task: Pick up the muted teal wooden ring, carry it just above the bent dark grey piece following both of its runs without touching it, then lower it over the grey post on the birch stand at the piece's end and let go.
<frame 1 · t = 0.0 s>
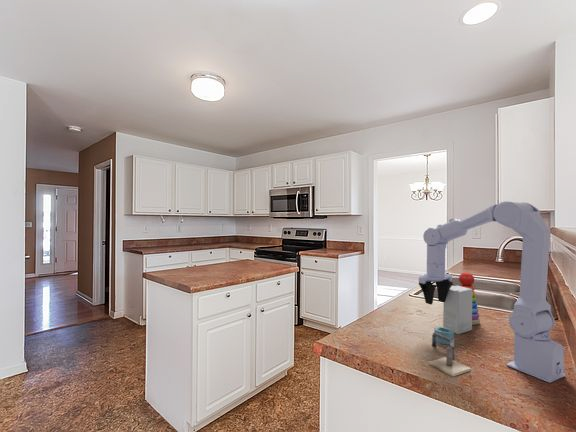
hand: (435, 302, 102), 10 cm above the worktop, tool pointing down, fingers open, 6 cm apart
post: (449, 367, 78), on the worktop
skincare box: (457, 330, 104), on the worktop, touching gripper
stacking toy: (467, 322, 113), on the worktop
dark grey piece: (452, 353, 86), on the worktop
ring: (443, 340, 95), on the worktop
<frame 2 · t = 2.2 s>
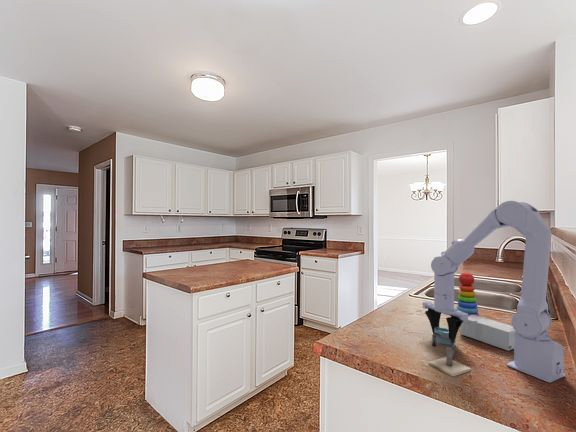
hand: (443, 336, 95), 1 cm above the worktop, tool pointing down, fingers closed on ring, 5 cm apart
skincare box: (465, 324, 102), point 3 cm above the worktop
ring: (443, 340, 95), on the worktop, touching gripper
everything else where it was.
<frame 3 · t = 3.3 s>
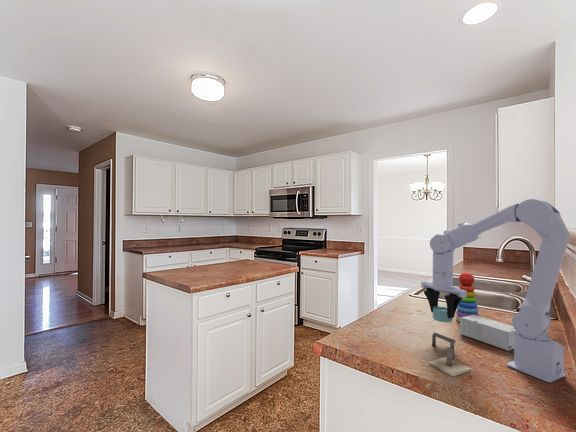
hand: (442, 315, 94), 8 cm above the worktop, tool pointing down, fingers closed on ring, 5 cm apart
ring: (442, 319, 94), point 7 cm above the worktop, touching gripper
everything else where it was.
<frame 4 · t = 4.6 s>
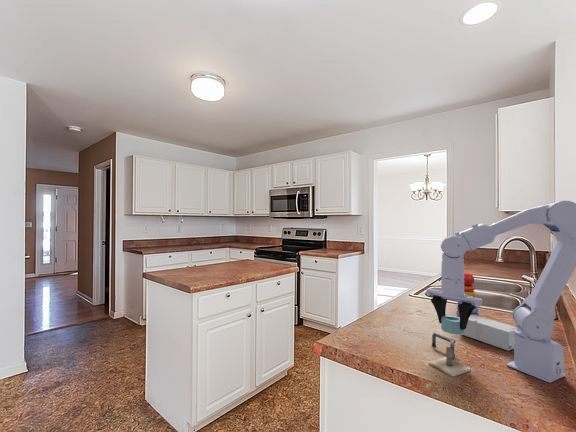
hand: (452, 325, 85), 8 cm above the worktop, tool pointing down, fingers closed on ring, 5 cm apart
ring: (452, 330, 85), point 7 cm above the worktop, touching gripper
everything else where it was.
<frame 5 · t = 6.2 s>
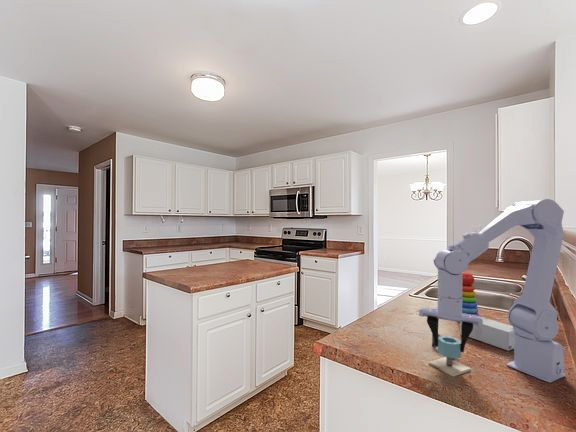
hand: (449, 348, 78), 5 cm above the worktop, tool pointing down, fingers closed on ring, 5 cm apart
ring: (449, 353, 78), point 4 cm above the worktop, touching gripper
everything else where it was.
when the fingers open (4 cm above the worktop, at t = 7.3 s): ring drops 2 cm, resting on post.
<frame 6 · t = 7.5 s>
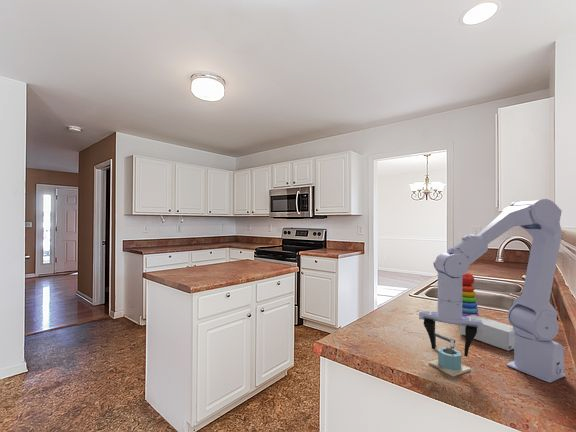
hand: (449, 351, 78), 4 cm above the worktop, tool pointing down, fingers open, 7 cm apart
ring: (449, 365, 78), point 1 cm above the worktop, touching post
everything else where it was.
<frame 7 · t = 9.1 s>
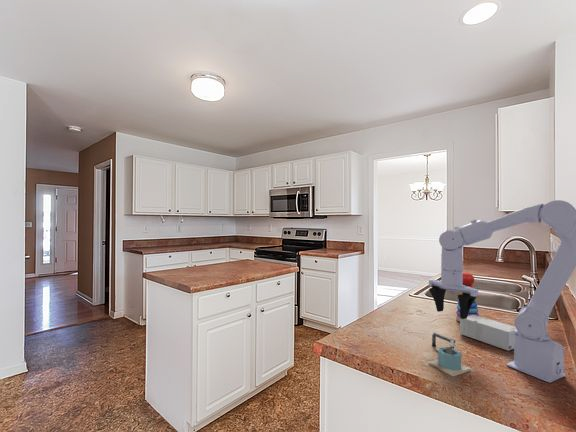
hand: (451, 314, 90), 10 cm above the worktop, tool pointing down, fingers open, 7 cm apart
nothing on the worktop moved.
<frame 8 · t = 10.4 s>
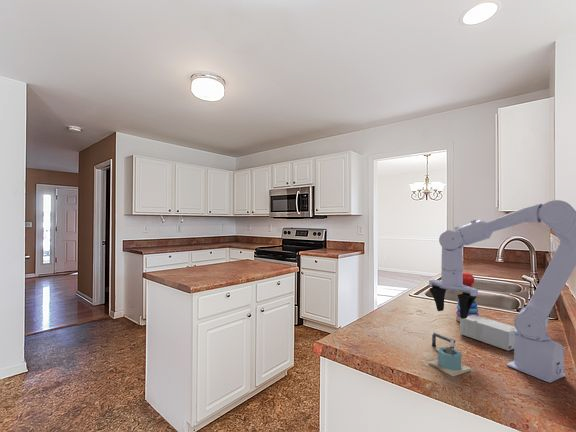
hand: (451, 314, 91), 10 cm above the worktop, tool pointing down, fingers open, 7 cm apart
nothing on the worktop moved.
at the end: ring 0.1 cm from the post (horizontally); ring point 0.6 cm above the worktop; ring touching post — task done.
